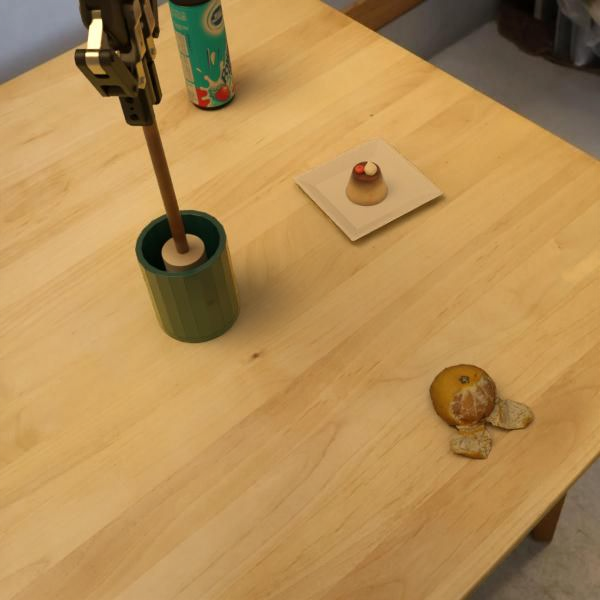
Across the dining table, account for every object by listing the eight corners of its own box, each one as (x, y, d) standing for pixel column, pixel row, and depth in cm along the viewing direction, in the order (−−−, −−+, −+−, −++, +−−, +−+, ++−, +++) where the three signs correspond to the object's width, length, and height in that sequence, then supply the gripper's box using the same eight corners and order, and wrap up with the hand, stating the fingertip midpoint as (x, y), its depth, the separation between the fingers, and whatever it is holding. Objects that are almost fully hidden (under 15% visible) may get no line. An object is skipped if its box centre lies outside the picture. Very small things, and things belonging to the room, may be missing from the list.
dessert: (292, 185, 97) (289, 152, 93) (378, 142, 100) (378, 109, 96) (353, 248, 90) (351, 216, 86) (443, 200, 93) (446, 167, 90)
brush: (197, 319, 83) (132, 81, 61) (167, 301, 85) (93, 64, 63) (223, 292, 85) (169, 52, 63) (193, 275, 86) (130, 36, 65)
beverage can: (221, 116, 105) (201, 8, 94) (180, 105, 107) (156, -2, 96) (244, 88, 108) (227, -20, 97) (204, 78, 110) (183, -29, 99)
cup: (203, 356, 83) (184, 291, 75) (140, 318, 86) (116, 252, 78) (256, 299, 86) (244, 232, 79) (194, 265, 90) (177, 197, 82)
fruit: (468, 470, 73) (471, 449, 70) (405, 404, 77) (406, 382, 75) (538, 418, 76) (544, 396, 73) (473, 358, 80) (476, 334, 77)
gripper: (60, -156, 58) (120, 59, 72) (-8, -50, 50) (75, 172, 63) (167, -159, 57) (208, 59, 71) (116, -51, 49) (173, 174, 62)
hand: (145, 111), depth 67 cm, fingers closed on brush, 2 cm apart
